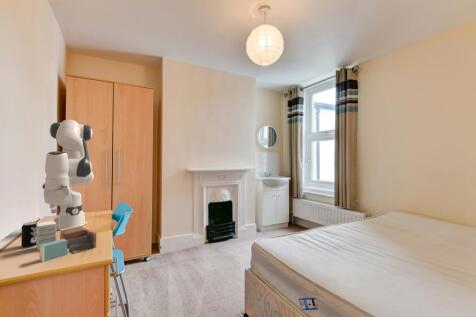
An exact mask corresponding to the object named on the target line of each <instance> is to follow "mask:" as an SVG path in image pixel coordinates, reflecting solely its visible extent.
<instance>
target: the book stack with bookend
mask: <svg viewBox="0 0 476 317" xmlns="http://www.w3.org/2000/svg"><path fill="white" fill-rule="evenodd" d="M59 235H60V236H59V240H61V239H65V240H67V249H68V252H69V253H72V254H78V253H81V252H84V251H87V250H91V249H95V248H96V249H97V232H95V231H92V230H89V229H87V228H85V227H83V226H80V225H79V226H75V227H70V228H65V229H60V230H59Z"/></svg>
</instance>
